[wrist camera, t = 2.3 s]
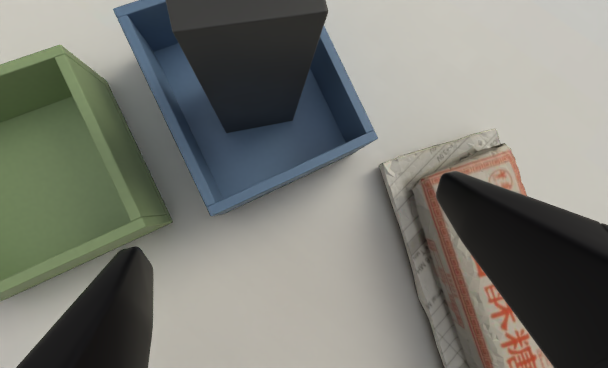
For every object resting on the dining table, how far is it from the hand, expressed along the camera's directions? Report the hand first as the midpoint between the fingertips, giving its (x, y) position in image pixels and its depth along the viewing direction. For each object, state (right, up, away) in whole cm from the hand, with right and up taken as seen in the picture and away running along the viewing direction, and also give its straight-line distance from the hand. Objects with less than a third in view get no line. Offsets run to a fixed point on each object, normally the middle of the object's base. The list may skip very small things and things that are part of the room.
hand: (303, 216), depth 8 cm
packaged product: (+13, -5, +15) cm, 20 cm away
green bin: (-17, +1, +11) cm, 20 cm away
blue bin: (-4, +7, +13) cm, 15 cm away
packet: (-4, +7, +13) cm, 15 cm away
